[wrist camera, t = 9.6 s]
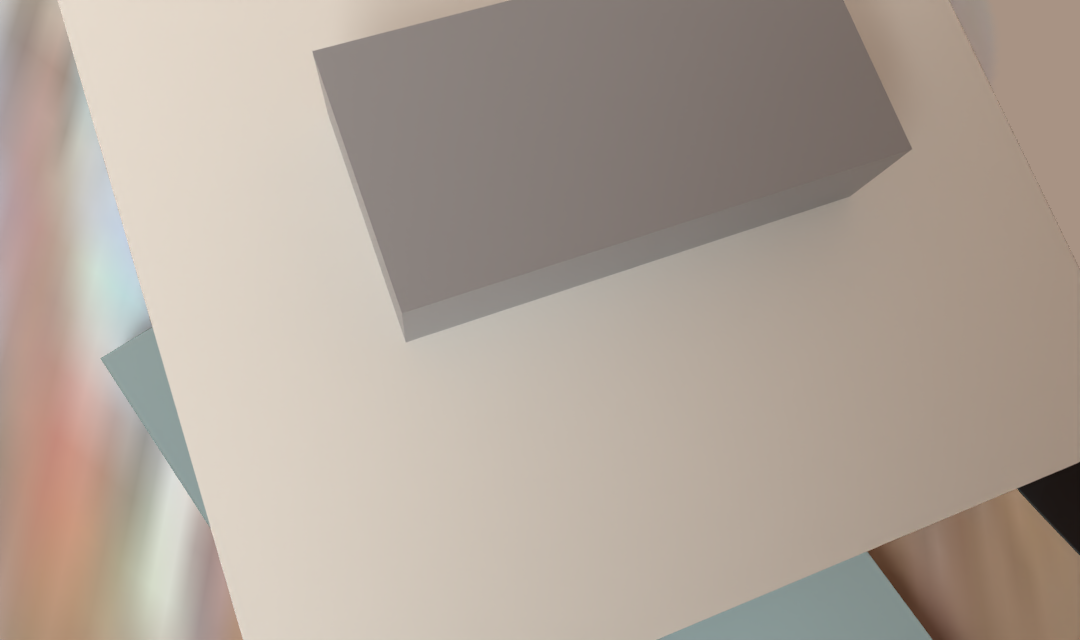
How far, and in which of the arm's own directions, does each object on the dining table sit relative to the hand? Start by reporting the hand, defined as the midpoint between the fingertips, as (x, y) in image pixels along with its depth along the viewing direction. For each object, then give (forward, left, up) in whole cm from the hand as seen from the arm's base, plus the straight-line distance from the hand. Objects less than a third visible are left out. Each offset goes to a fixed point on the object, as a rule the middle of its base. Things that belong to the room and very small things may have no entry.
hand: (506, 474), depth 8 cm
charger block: (+1, -1, -9) cm, 9 cm away
